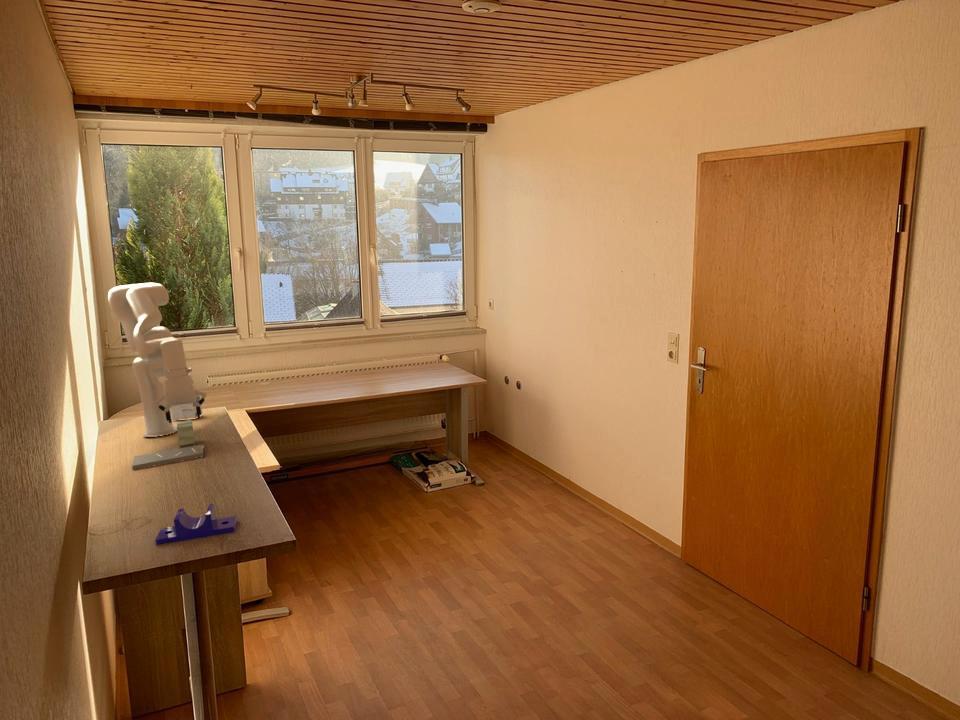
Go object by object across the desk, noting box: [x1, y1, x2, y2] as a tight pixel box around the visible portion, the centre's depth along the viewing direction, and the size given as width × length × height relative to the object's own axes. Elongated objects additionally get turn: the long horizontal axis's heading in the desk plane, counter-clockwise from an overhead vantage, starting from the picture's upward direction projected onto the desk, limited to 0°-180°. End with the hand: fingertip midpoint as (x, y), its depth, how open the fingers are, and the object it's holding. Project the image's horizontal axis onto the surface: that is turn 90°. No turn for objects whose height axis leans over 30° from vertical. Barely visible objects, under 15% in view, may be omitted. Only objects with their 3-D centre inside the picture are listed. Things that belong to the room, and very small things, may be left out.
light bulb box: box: [170, 394, 203, 420], centre depth 300 cm, size 11×7×11 cm, turn 84°
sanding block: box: [176, 420, 196, 448], centre depth 258 cm, size 9×5×8 cm, turn 22°
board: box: [131, 444, 205, 471], centre depth 243 cm, size 12×23×2 cm, turn 112°
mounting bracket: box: [155, 503, 238, 546], centre depth 175 cm, size 18×7×6 cm, turn 104°
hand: (184, 419), depth 257 cm, fingers open, 9 cm apart
